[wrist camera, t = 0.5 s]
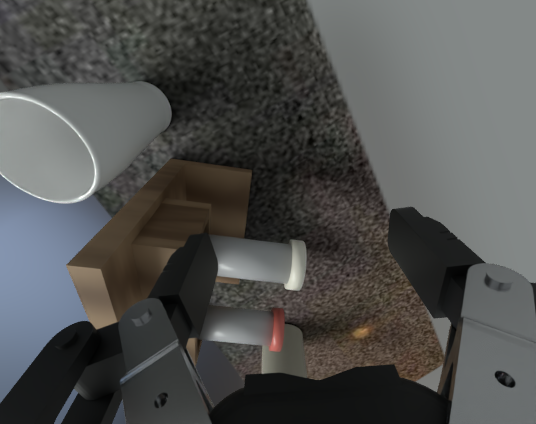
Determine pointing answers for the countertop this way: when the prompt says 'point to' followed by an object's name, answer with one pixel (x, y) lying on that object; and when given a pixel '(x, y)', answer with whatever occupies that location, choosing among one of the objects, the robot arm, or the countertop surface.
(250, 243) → the ivory button
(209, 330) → the red button
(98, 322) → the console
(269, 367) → the travel mug
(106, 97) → the drinking glass
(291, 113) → the countertop surface
